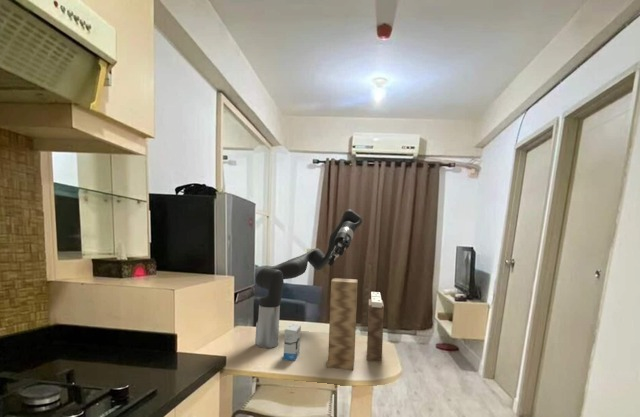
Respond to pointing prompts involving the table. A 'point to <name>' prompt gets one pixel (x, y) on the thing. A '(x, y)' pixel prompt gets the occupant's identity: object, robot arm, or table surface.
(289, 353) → the ink box
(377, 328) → the walnut post
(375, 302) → the long ivory domino tile
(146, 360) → the table surface
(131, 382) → the table surface
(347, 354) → the oak post
